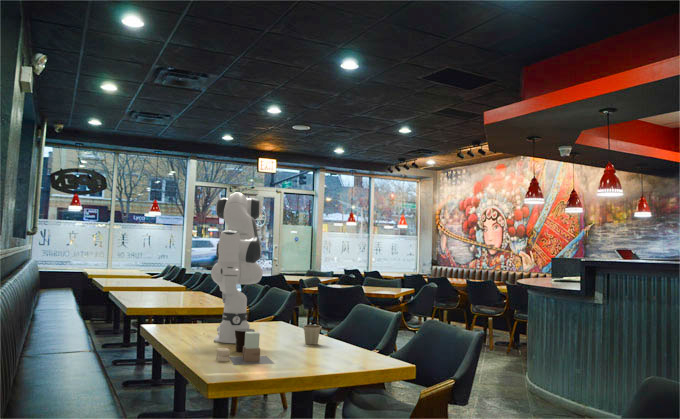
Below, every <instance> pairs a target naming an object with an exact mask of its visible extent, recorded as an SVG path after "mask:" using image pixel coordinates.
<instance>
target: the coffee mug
mask: <svg viewBox="0 0 680 419" xmlns="http://www.w3.org/2000/svg"><path fill="white" fill-rule="evenodd" d="M245 332H256V330H255V329H254V328H250V329H235V339H236V343H235V352H237V353H242V354H243V346H245Z"/></svg>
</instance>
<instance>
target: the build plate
mask: <svg viewBox="0 0 680 419" xmlns="http://www.w3.org/2000/svg"><path fill="white" fill-rule="evenodd" d="M242 357H243V355H241V356H239V355H238V356H229V361H231V363H232V364H233V366H240V365H241V366H242V365H247V366H248V365H269V364H270V365H273V364H275V362H274V361H273V360H272V359H271V358H270V357H268V355H260V361H254V362H245V361H244V360H243V359H242Z"/></svg>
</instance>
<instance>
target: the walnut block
mask: <svg viewBox="0 0 680 419" xmlns="http://www.w3.org/2000/svg"><path fill="white" fill-rule="evenodd" d="M242 356H243V357H242V359H243V360H244V361H245V362H254V361H260V356H261V348H260V347H259V348H256V349H246V348H245V347H244V346H243V353H242Z"/></svg>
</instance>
